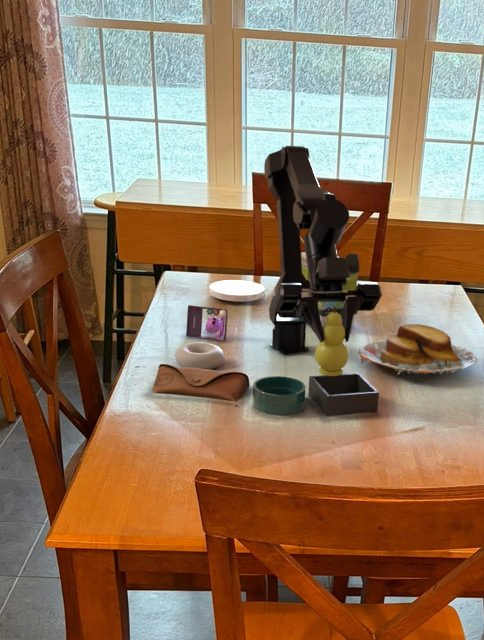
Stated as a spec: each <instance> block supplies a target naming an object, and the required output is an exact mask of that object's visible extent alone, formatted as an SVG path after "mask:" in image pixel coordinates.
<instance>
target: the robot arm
mask: <svg viewBox="0 0 484 640" xmlns="http://www.w3.org/2000/svg"><path fill="white" fill-rule="evenodd" d="M263 167H264V168H263V169H264V171H263V172H264V178H265V179H267V188H268V191H269V192H270V194H271V196H272V197H273V199H274V200H275V202H276V210H277V211H276V213H277V229H278V246H279V263H280V265H279V267H280V276H279V279H278V281H277V282H276V285H275V287H274V290H273V291H274V292H273V293H274V295H272V298H271V301H270V304H269V307H268V314H269V315H268V316H269V317H268V318H269V320H270V321H271V323H272V324H273V325H274V327H272V338H271V339H272V341H271V343H269V347H271V348H272V349H274V350H275V351H277V352H279V353H281V354H283V356H284V355H285V356H286V355H293V354H299V353H304V352H305V353H306V352H309V351H310V348H309V347H307V346H306V339H307V337H306V335H307V325H308V326H309V327H310V328H311V330H312V331H313V333H314V335H315V336H316V337H317V339H318V340H319V343H321V342H323V341H324V334H323V328H322V324H321V320H320V315H319V311H318V302H342V303H343V309H342V311H341V318H342V325H343V327H344V329H345V338H344V341H345V343H346V342H349V340H350V335H351V330H352V327H351V325H352V320H353V315H357V314H358V313H359V312H364V311H365V312H370V311H373V310H375V309H376V307H377V306H378V303H379V302H380V300H381V298H382V296H383V294H382V288H381V286H380V284H378V283H377V282H357V287H356V289H355V290H343V286H346V284H347V280H346V278H347V277H348V278H349V277H350V274H356V273H358V274H359V272H360V259H359V255H358V253H348V254H347V255H345V256H344V257H341V256H339V255H338V249H337V244H339V243H340V242H341V240H342V237H343V235H344V233H345V230H346V228H347V225H348V222H349V220H350V211H349V210H348V208H347V207H346V205H345V204H344V203H343V202H342V201H340V200H338V199H337V197H336V194H335V193H330V192H329V190H326V189H325V188H323V187H321V186H320V184H319V182H318V179H317V177H316V174H315V171H314V168H313V166H312V162H311V160H310V150H309V147H306V146H303V145H285V146H282V147H281V148H280V149H279V150H277V151H274V152H270V153H269V154H268V155H267V157H266V158H265V160H264V165H263ZM301 230H304V231H305V230H306V231H307V230H308V232H306V233H305V235H304V237H303V245H304V252H305V253H306V260H307V267H308V274H307V276H308V280H306V278H305V277H304V275H303V273H302V260H301V253H302V243H301V242H302V240H301ZM309 280H310V282H309ZM307 323H308V324H307Z"/></svg>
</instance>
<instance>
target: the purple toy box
mask: <svg viewBox="0 0 484 640" xmlns="http://www.w3.org/2000/svg"><path fill="white" fill-rule="evenodd" d="M204 310H206V313H207V315H210V316H211V317H207V321H206V322H205V328H204V331H206V333H208V334H216V333H217V332H218V331H219V333H218V335H217V337H209V336H202V328H203V312H204ZM186 314H187V315H186V330H185V331H186V332H185V336H186V337H188V338H194V339H195V338H196V339H202V340H203V339H204V340H214V341H221V342H226V340H227V332H228V330H227V329H228V317H229V310H228V309H226V308H217V307H208V306H199V305H191V304H188V305H187V313H186ZM212 315H214V316H212ZM215 316H217V317H215ZM218 316H219V317H218ZM222 337H223V338H222Z"/></svg>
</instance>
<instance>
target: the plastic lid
mask: <svg viewBox="0 0 484 640" xmlns="http://www.w3.org/2000/svg"><path fill="white" fill-rule="evenodd" d="M265 294H266V287H264V285H262V284H260V283H258V282H254V281H249V280H242V279H241V280H240V279H226V280H219V281H214V282H212V283H211V284H209V295H210V296H211V297H213V298H215V299H219V300H223V301H230V302H252V301H257V300H260V299H263V298H264V297H265Z"/></svg>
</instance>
